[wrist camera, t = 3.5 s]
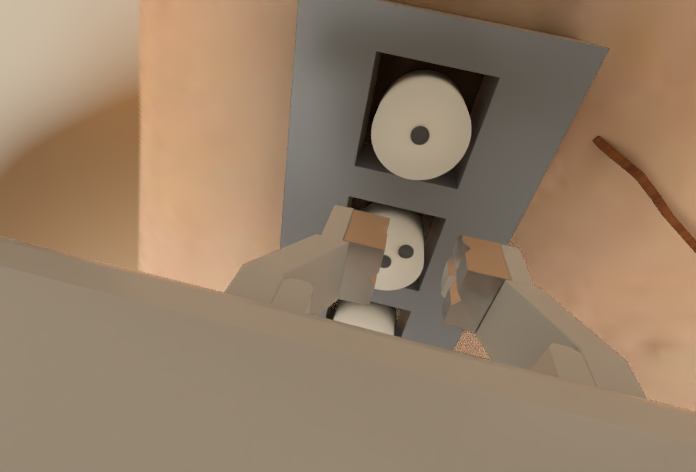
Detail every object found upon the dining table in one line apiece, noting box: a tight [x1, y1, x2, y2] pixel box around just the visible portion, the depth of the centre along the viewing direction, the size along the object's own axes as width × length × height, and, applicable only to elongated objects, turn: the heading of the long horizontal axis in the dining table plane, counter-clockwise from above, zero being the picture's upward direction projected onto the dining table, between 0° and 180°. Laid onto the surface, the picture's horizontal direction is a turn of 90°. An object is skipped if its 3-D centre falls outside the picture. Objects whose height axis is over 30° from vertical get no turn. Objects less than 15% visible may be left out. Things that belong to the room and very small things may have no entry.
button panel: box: [280, 0, 609, 350], centre depth 25 cm, size 14×26×4 cm, turn 170°
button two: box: [333, 299, 396, 335], centre depth 28 cm, size 5×5×4 cm
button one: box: [371, 70, 471, 180], centre depth 19 cm, size 5×5×4 cm
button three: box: [361, 202, 424, 291], centre depth 24 cm, size 5×5×4 cm
